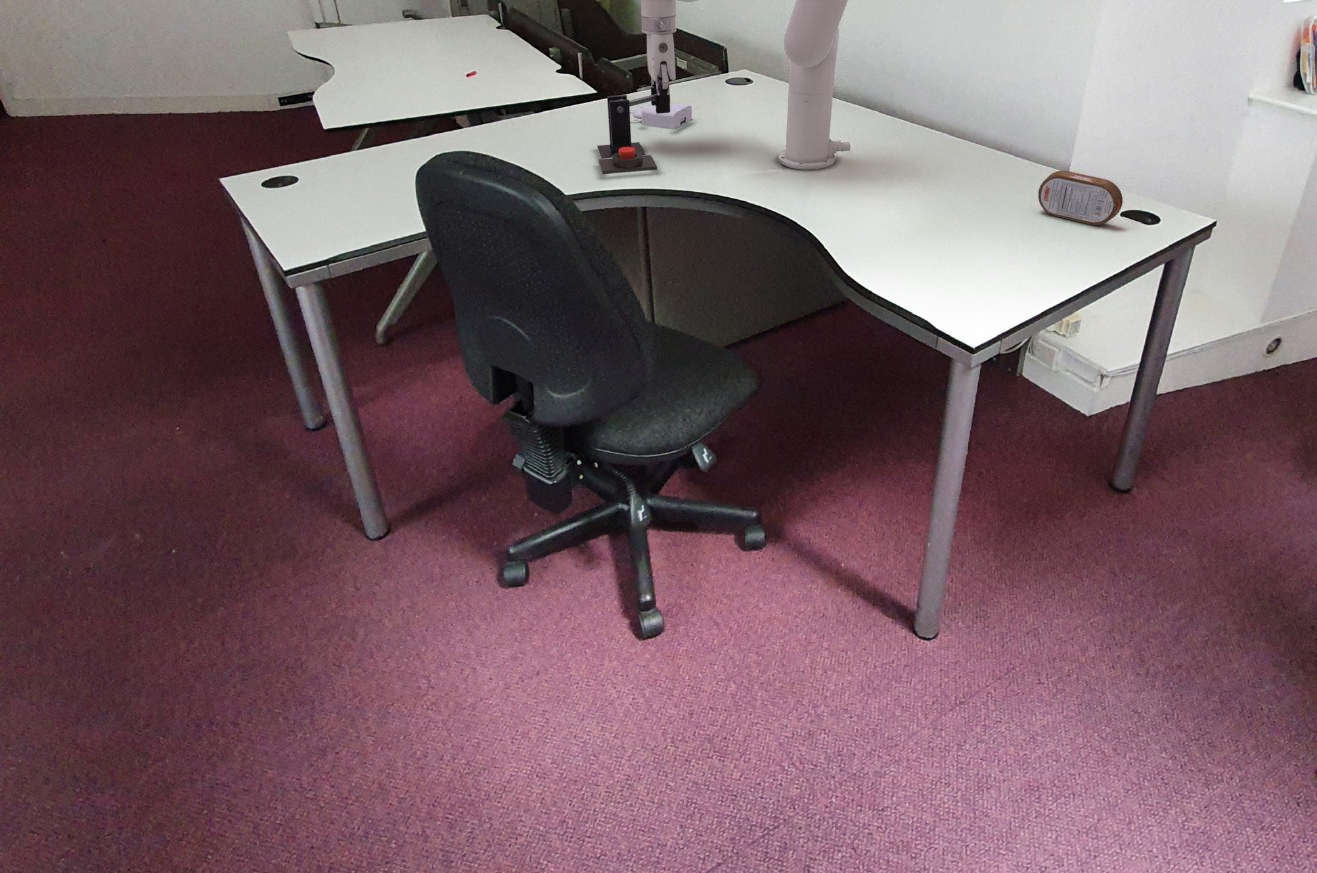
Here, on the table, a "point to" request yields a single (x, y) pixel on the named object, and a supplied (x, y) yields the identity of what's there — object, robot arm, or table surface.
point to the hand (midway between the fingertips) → (660, 108)
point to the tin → (1080, 197)
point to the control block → (627, 164)
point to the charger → (664, 116)
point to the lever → (642, 100)
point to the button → (627, 152)
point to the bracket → (618, 127)
